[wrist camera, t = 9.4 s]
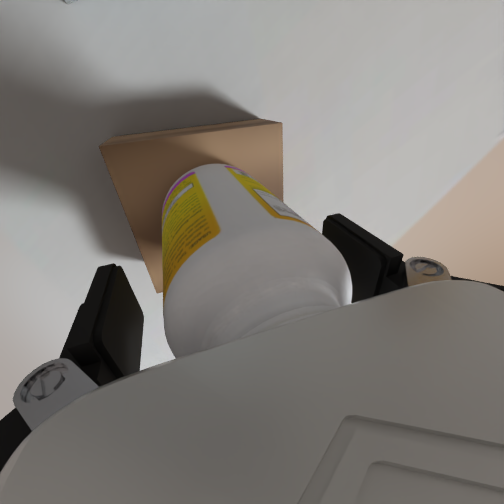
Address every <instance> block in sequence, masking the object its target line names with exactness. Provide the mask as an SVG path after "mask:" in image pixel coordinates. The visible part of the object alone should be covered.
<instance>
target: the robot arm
mask: <svg viewBox="0 0 504 504" xmlns="http://www.w3.org/2000/svg"><path fill="white" fill-rule="evenodd" d="M322 235H323V236H324V237H326V238H327V239H328V240H329V241H330V242H331V243H332V244H333V245H334V246H335V247H336V248H337V249H338V250H339V252H340V253H341V254H342V256H343V258H344V260H345V261H346V264H347V266H348V269H349V272H350V275H351V281H352V300H351V303H352V304H348V305H345V306H342V307H338V308H335V309H332V310H329V311H325V312H322V313H319V314H316V315H313V316H310V317H307V318H303V319H300V320H297V321H294V322H291V323H287V324H284V325H281V326H277V327H274V328H271V329H268V330H264V331H261V332H258V333H255V334H252V335H249V336H245V337H242V338H239V339H236V340H233V341H230V342H227V343H223V344H220V345H217V346H214V347H211V348H208V349H205V350H201V351H198V352H195V353H192V354H189V355H186V356H183V357H180V358H177V359H174V360H170V361H167V362H164V363H161V364H158V365H155V366H152V367H150V368H147V369H144V370H141V371H140V359H141V347H142V335H143V323H144V316H143V312H142V310H141V307H140V305H139V303H138V301H137V299H136V297H135V294H134V292H133V290H132V288H131V286H130V284H129V282H128V279H127V277H126V275H125V273H124V271H123V269H122V267H121V266H116V265H115V264H109V265H105V266H100V267H98V268H97V271H96V273H95V276H94V279H93V281H92V284H91V287H90V289H89V292H88V294H87V297H86V300H85V302H84V303H83V304H81V306H80V307H79V310H78V312H77V315H76V317H75V320H74V323H73V325H72V327H71V330H70V332H69V335H68V338H67V340H66V342H65V345H64V347H63V350H62V353H61V355H60V358H59V359H55V360H51V361H49V362H47V363H44V364H42V365H41V366H39V367H38V368H36V369H35V370H33V371H32V372H31V373H30V374H28V375H27V376H26V377H25V378H24V379H23V381H22V382H21V383H20V384H19V386H18V387H17V389H16V391H15V393H14V397H13V402H14V405H15V407H16V408H15V409H13V410H12V411H11V412H10V413H9V414H7V415H6V416H5V417H4V418H3V419H1V420H0V504H504V286H500V285H495V284H490V283H484V282H479V281H474V280H469V279H463V278H458V277H453V276H450V274H449V271H448V269H447V268H446V267H445V266H444V265H443V264H441V263H440V262H438V261H435V260H433V259H429V258H425V257H412V258H410V259H408V260H407V261H406V262H404V261H402V258H403V254H402V253H401V252H399V251H397V250H396V249H394V248H393V247H391V246H390V245H388V244H386V243H385V242H383V241H382V240H380V239H379V238H377V237H376V236H374V235H372V234H371V233H369V232H368V231H366V230H365V229H363V228H362V227H360V226H358V225H357V224H355V223H354V222H352V221H351V220H349V219H348V218H346V217H344V216H343V215H341V214H334V215H329V216H327V218H326V219H325V220H324V221H323V231H322Z"/></svg>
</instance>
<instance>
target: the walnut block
mask: <svg viewBox="0 0 504 504" xmlns="http://www.w3.org/2000/svg"><path fill="white" fill-rule="evenodd" d="M99 148H100V151H101V153H102V156H103V158H104V161H105V163H106V166H107V168H108V171H109V173H110V176H111V179H112V181H113V184H114V186H115V189H116V191H117V194H118V196H119V199H120V201H121V204H122V206H123V209H124V211H125V214H126V216H127V219H128V222H129V224H130V227H131V229H132V232H133V234H134V237H135V239H136V242H137V244H138V247H139V249H140V252H141V254H142V257H143V260H144V262H145V265H146V267H147V270H148V272H149V275H150V277H151V280H152V282H153V285H154V287H155V290H156V292H157V293H161V292H163V268H162V264H163V263H162V209H163V204H164V201H165V198H166V195H167V193H168V191H169V190H170V188H171V187H172V185H173V184H174V183H175V182H176V181H177V180H178V179H179V178H180V177H181V176H182V175H183V174H185V173H186V172H188V171H190V170H192V169H194V168H196V167H199V166H202V165H206V164H226V165H231V166H234V167H236V168H239V169H241V170H243V171H244V172H246V173H247V174H249V175H250V176H252V177H253V178H254V179H255V180H257V181H258V182H259V183H260V184H262V185H263V186H264V187H265V188H266V189H268V190H269V191H270V192H271V193H272V194H274V195H275V196H276V197H277V198H278V199H280V200H281V201H282V202H283V139H282V123H281V122H275V121H270V120H265V119H253V120H245V121H237V122H229V123H221V124H213V125H204V126H196V127H188V128H180V129H172V130H164V131H156V132H147V133H139V134H131V135H123V136H115V137H111V138H110V139H108V140H107V141H106V142H104V143H103V144H101V145H100V146H99Z"/></svg>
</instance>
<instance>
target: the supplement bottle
mask: <svg viewBox="0 0 504 504" xmlns="http://www.w3.org/2000/svg"><path fill="white" fill-rule="evenodd" d="M162 263H163V264H162V268H163V316H164V329H165V335H166V339H167V342H168V344H169V347H170V349H171V351H172V353H173V354H174V356H175V358H176V359H177V358H180V357H183V356H186V355H189V354H192V353H195V352H198V351H201V350H205V349H208V348H211V347H214V346H217V345H220V344H223V343H227V342H230V341H233V340H236V339H239V338H242V337H245V336H249V335H252V334H255V333H258V332H261V331H264V330H268V329H271V328H274V327H277V326H281V325H284V324H287V323H291V322H294V321H297V320H300V319H303V318H307V317H310V316H313V315H316V314H319V313H322V312H325V311H329V310H332V309H335V308H338V307H342V306H345V305H348V304H351V300H352V281H351V275H350V272H349V269H348V266H347V264H346V261H345V260H344V258H343V256H342V254H341V253H340V252H339V250H338V249H337V248H336V247H335V246H334V245H333V244H332V243H331V242H330V241H329V240H328V239H327V238H326V237H324V236H323V235H322V234H321V233H320V232H319V231H317V230H316V229H315V228H313V227H312V226H311V225H310V224H309V223H308V222H306V221H305V220H304V219H302V218H301V217H300V216H299V215H298V214H296V213H295V212H294V211H293V210H291V209H290V208H289V207H288V206H287V205H286V204H284V203H283V202H282V201H281V200H280V199H278V198H277V197H276V196H275V195H274V194H272V193H271V192H270V191H269V190H268V189H266V188H265V187H264V186H263V185H262V184H260V183H259V182H258V181H257V180H255V179H254V178H253V177H252V176H250V175H249V174H247V173H246V172H244V171H243V170H241V169H239V168H236V167H234V166H231V165H226V164H206V165H202V166H199V167H196V168H194V169H192V170H190V171H188V172H186V173H185V174H183V175H182V176H181V177H180V178H179V179H178V180H177V181H176V182H175V183H174V184H173V185H172V187H171V188H170V190H169V191H168V193H167V195H166V198H165V201H164V204H163V209H162Z"/></svg>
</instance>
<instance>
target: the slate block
mask: <svg viewBox="0 0 504 504" xmlns="http://www.w3.org/2000/svg"><path fill="white" fill-rule="evenodd" d="M64 1H65V2H66V3H67V4H69V3H72V2H74V1H77V0H64Z"/></svg>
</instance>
